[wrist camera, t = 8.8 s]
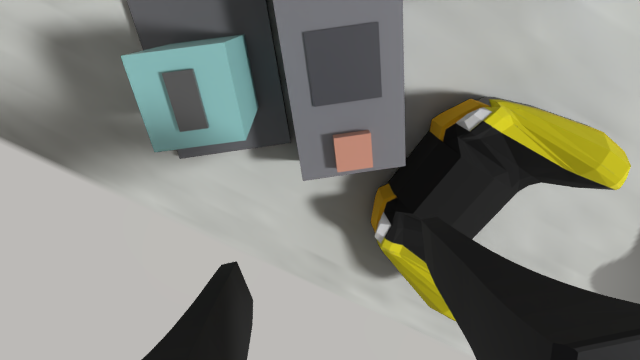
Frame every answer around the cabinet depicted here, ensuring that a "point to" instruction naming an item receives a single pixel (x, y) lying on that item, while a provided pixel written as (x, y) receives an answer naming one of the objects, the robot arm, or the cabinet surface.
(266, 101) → the mat
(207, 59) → the block
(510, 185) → the gaming controller
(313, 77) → the power strip
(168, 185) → the cabinet surface
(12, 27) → the cabinet surface
